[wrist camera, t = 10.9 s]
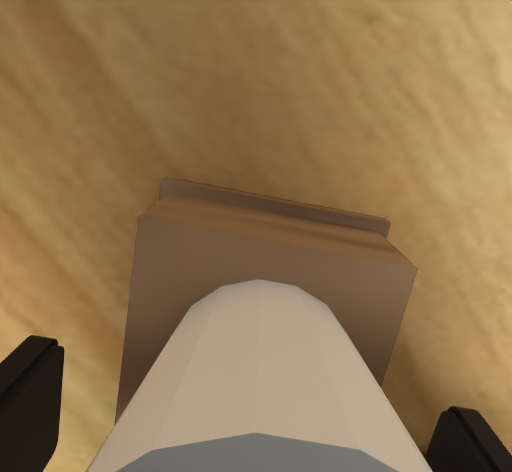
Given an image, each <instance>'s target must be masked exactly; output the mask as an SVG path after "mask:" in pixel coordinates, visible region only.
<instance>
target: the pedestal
mask: <svg viewBox="0 0 512 472" xmlns="http://www.w3.org/2000/svg"><path fill="white" fill-rule="evenodd" d="M389 227H390V222H388V221H387V220H386V219H385V218H379V217H374V216H369V215H364V214H358V213H353V212H348V211H342V210H337V209H332V208H326V207H321V206H316V205H311V204H305V203H300V202H295V201H289V200H284V199H279V198H274V197H268V196H263V195H258V194H252V193H247V192H242V191H236V190H231V189H226V188H221V187H215V186H210V185H205V184H199V183H194V182H189V181H184V180H178V179H173V178H168V177H166V178H164V179H162V180H161V187H160V195H159V202H158V203H156V204H155V205H154V206H152V207H151V208H150V209H148V210H147V211H146V212H145V213H143V214H142V215H141V216H139V219H138V228H137V236H136V245H135V254H134V262H133V271H132V280H131V288H130V297H129V305H128V314H127V323H126V331H125V340H124V349H123V357H122V366H121V374H120V383H119V392H118V400H117V409H116V418H115V425H116V423H117V421H118V420H119V418H120V417H121V415H122V413H123V412H124V410H125V409H126V407H127V406H128V404H129V402H130V401H131V399H132V398H133V396H134V394H135V393H136V391H137V390H138V388H139V387H140V385H141V383H142V382H143V380H144V379H145V377H146V375H147V374H148V372H149V371H150V369H151V368H152V366H153V364H154V363H155V361H156V360H157V358H158V356H159V355H160V353H161V352H162V350H163V348H164V347H165V345H166V344H167V342H168V341H169V339H170V337H171V336H172V334H173V333H174V331H175V330H176V328H177V327H178V325H179V324H180V322H181V321H182V319H183V318H184V316H185V315H186V313H187V312H188V310H189V309H190V307H191V306H192V305H193V304H195V303H196V302H198V301H200V300H201V299H203V298H204V297H206V296H207V295H209V294H210V293H212V292H214V291H215V290H217V289H218V288H220V287H221V286H226V285H231V284H236V283H241V282H246V281H251V280H257V279H261V280H267V281H272V282H278V283H283V284H289V285H295V286H297V287H299V288H300V289H302V290H304V291H305V292H307V293H308V294H310V295H312V296H313V297H315V298H317V299H318V300H320V301H321V302H323V303H325V304H326V305H327V306H328V307H329V309H330V310H331V312H332V313H333V314H334V316H335V317H336V319H337V320H338V322H339V323H340V325H341V326H342V327H343V329H344V330H345V332H346V333H347V335H348V336H349V338H350V340H351V341H352V343H353V344H354V346H355V348H356V349H357V351H358V352H359V354H360V356H361V357H362V359H363V360H364V362H365V364H366V365H367V367H368V369H369V370H370V372H371V373H372V375H373V377H374V378H375V380H376V381H377V383H378V385H379V386H380V388H381V385H382V382H383V378H384V375H385V372H386V369H387V365H388V362H389V359H390V356H391V353H392V349H393V346H394V343H395V340H396V336H397V333H398V330H399V327H400V324H401V320H402V317H403V314H404V311H405V307H406V304H407V301H408V298H409V294H410V291H411V288H412V285H413V282H414V278H415V275H416V272H417V269H418V268H416V267H415V266H414V265H413V264H412V263H411V262H410V261H409V260H408V259H407V258H406V257H405V256H404V255H403V254H401V253H400V252H399V251H398V250H397V249H396V248H395V247H394V246H393V245H392V244H391V243H390V242H389V241H388V240H386V238H387V234H388V230H389Z"/></svg>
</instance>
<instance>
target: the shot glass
mask: <svg viewBox="0 0 512 472" xmlns="http://www.w3.org/2000/svg"><path fill="white" fill-rule="evenodd" d="M86 472H433V471H432V470H431V468H430V467H429V465H428V463H427V462H426V460H425V459H424V457H423V455H422V454H421V452H420V450H419V449H418V447H417V446H416V444H415V442H414V441H413V439H412V438H411V436H410V434H409V433H408V431H407V430H406V428H405V426H404V425H403V423H402V422H401V420H400V418H399V417H398V415H397V414H396V412H395V410H394V409H393V407H392V405H391V404H390V402H389V401H388V399H387V397H386V396H385V394H384V393H383V391H382V389H381V388H380V386H379V385H378V383H377V381H376V380H375V378H374V377H373V375H372V373H371V372H370V370H369V369H368V367H367V365H366V364H365V362H364V360H363V359H362V357H361V356H360V354H359V352H358V351H357V349H356V348H355V346H354V344H353V343H352V341H351V340H350V338H349V336H348V335H347V333H346V332H345V330H344V329H343V327H342V326H341V325H340V323H339V322H338V320H337V319H336V317H335V316H334V314H333V313H332V312H331V310H330V309H329V307H328V306H327V305H326V304H325V303H323V302H321V301H320V300H318V299H317V298H315V297H313V296H312V295H310V294H308V293H307V292H305V291H304V290H302V289H300V288H299V287H297V286H295V285H289V284H283V283H278V282H272V281H267V280H261V279H257V280H251V281H246V282H241V283H236V284H231V285H226V286H221V287H220V288H218V289H217V290H215V291H214V292H212V293H210V294H209V295H207V296H206V297H204V298H203V299H201V300H200V301H198V302H196V303H195V304H193V305H192V306H191V307H190V309H189V310H188V312H187V313H186V315H185V316H184V318H183V319H182V321H181V322H180V324H179V325H178V327H177V328H176V330H175V331H174V333H173V334H172V336H171V337H170V339H169V341H168V342H167V344H166V345H165V347H164V348H163V350H162V352H161V353H160V355H159V356H158V358H157V360H156V361H155V363H154V364H153V366H152V368H151V369H150V371H149V372H148V374H147V375H146V377H145V379H144V380H143V382H142V383H141V385H140V387H139V388H138V390H137V391H136V393H135V394H134V396H133V398H132V399H131V401H130V402H129V404H128V406H127V407H126V409H125V410H124V412H123V413H122V415H121V417H120V418H119V420H118V421H117V423H116V425H115V426H114V428H113V429H112V431H111V432H110V434H109V436H108V437H107V439H106V440H105V442H104V444H103V445H102V447H101V448H100V450H99V451H98V453H97V455H96V456H95V458H94V459H93V461H92V463H91V464H90V466H89V467H88V469H87V470H86Z"/></svg>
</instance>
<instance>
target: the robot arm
mask: <svg viewBox="0 0 512 472" xmlns="http://www.w3.org/2000/svg"><path fill="white" fill-rule="evenodd" d="M63 364H64V348H63V347H62V346H58V342H57V340H56V339H52V338H46V337H41V336H35V335H31V336H29V337H28V338H27V339H26V340H25V341H23V342H22V343H21V344H20V345H19V346H18V347H17V348H16V349H15V350H14V351H13V352H12V353H11V354H10V355H9V356H8V357H6V358H5V359H4V360H3V361H2V362H1V363H0V472H43V470H44V468H45V467H46V465H47V464H48V462H49V460H50V459H51V457H52V455H53V453H54V451H55V449H56V446H57V442H58V435H59V421H60V407H61V392H62V378H63ZM424 459H425V460H426V462H427V463H428V465H429V467H430V468H431V470H432V471H433V472H512V456H511V454H510V453H509V452H508V450H507V449H506V448H505V446H504V445H503V444H502V442H501V441H500V440H499V438H498V437H497V436H496V434H495V433H494V432H493V430H492V429H491V428H490V426H489V425H488V424H487V422H486V421H485V420H484V418H483V417H482V416H481V414H480V413H479V412H478V411H476V410H473V409H467V408H461V407H455V406H452V407H450V408H449V409H448V410H447V411H443V412H442V413H441V415H440V417H439V420H438V423H437V426H436V428H435V431H434V434H433V436H432V439H431V442H430V445H429V447H428V450H427V453H426V456H425V458H424Z"/></svg>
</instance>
